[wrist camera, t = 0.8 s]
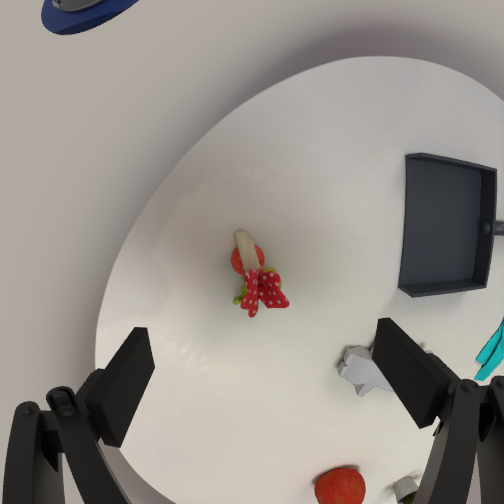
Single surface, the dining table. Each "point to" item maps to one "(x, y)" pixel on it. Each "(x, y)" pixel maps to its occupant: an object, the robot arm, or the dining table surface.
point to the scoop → (447, 225)
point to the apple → (340, 487)
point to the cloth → (491, 354)
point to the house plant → (405, 490)
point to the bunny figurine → (363, 370)
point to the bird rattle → (255, 276)
